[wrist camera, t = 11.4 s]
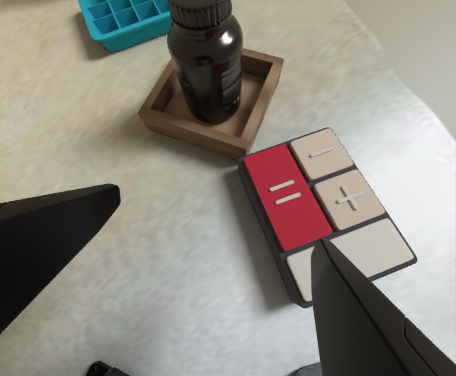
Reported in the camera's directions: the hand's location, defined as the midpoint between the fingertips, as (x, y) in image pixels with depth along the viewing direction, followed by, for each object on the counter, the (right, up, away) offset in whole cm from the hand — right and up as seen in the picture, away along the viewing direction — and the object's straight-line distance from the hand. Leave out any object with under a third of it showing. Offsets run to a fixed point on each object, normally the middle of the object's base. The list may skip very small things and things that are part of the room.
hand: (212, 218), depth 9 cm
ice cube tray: (-11, +29, +25) cm, 40 cm away
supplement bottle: (-1, +12, +18) cm, 21 cm away
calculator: (+9, -1, +14) cm, 17 cm away
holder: (-1, +12, +18) cm, 22 cm away
